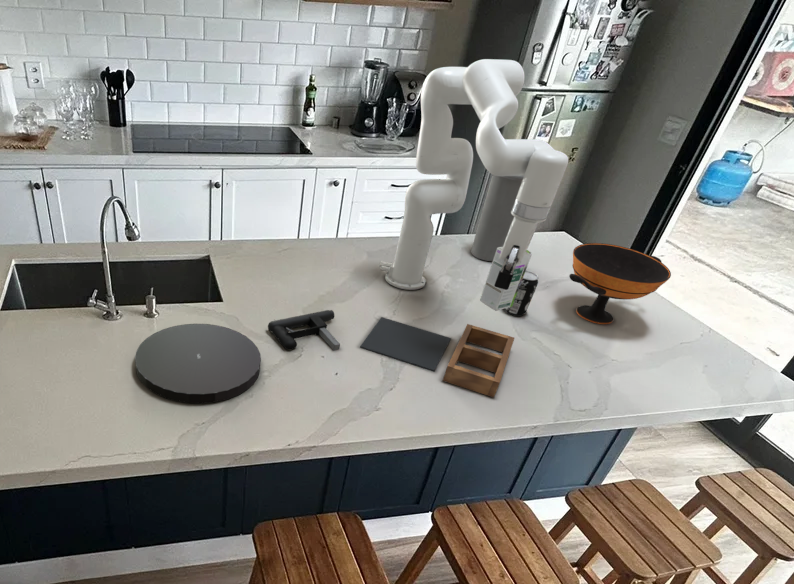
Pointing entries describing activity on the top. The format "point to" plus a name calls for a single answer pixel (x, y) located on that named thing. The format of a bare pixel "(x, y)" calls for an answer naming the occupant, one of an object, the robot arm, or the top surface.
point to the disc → (197, 363)
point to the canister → (496, 216)
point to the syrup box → (505, 298)
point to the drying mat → (406, 343)
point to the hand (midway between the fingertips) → (503, 280)
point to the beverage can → (524, 294)
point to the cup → (614, 276)
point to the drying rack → (479, 360)
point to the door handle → (312, 320)
